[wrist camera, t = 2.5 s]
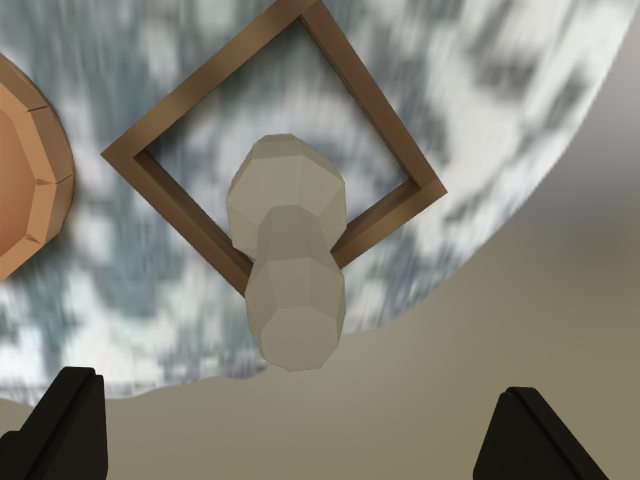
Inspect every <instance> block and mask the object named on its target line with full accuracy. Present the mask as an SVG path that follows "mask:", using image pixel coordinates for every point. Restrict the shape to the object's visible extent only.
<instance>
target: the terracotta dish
mask: <svg viewBox="0 0 640 480" xmlns="http://www.w3.org/2000/svg"><path fill="white" fill-rule="evenodd" d="M74 186H75V170H74V163H73V156H72V152H71V148H70V145H69V141H68V138H67V136H66V133H65V131H64V129H63V126H62V124H61V122H60V120H59V118H58V116H57V115H56V113H55V111H54V109H53V108H52V106H51V105H50V103H49V102H48V100H47V99H46V98H45V96H44V95H43V93H42V92H41V91H40V90H39V88H38V87H37V86H36V85H35V84H34V83H33V82H32V81H31V80H30V78H29V77H28V76H27V75H26V74H25V73H24V72H22V71H21V70H20V69H19V68H18V67H17V66H16V65H15V64H14V63H13V62H11V61H10V60H9V59H7V58H6V57H5V56H3V55H2V54H0V282H1V281H3V280H4V279H5V278H6V277H7V276H9V275H10V274H11V273H12V272H13V271H15V270H16V269H17V268H18V267H19V266H20V265H22V264H23V263H24V262H25V261H26V260H28V259H29V258H30V257H31V256H32V255H33V254H35V253H36V252H37V251H38V250H39V249H41V248H42V247H43V246H44V245H45V244H46V243H48V242H49V241H50V240H51V239H52V238H54V237H55V236H56V235H57V234H58V233H59V232H60V231H61V227H62V224H63V222H64V220H65V218H66V216H67V214H68V212H69V209H70V206H71V203H72V199H73V193H74Z"/></svg>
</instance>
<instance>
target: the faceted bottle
mask: <svg viewBox="0 0 640 480" xmlns="http://www.w3.org/2000/svg"><path fill="white" fill-rule="evenodd" d="M226 206H227V212H228V219H229V225H230V232H231V238H232V244H233V247H234V248H236V249H238V250H240V251H242V252H243V253H245V254H247V255H249V256H251V257H252V258H254V259H255V262H254V265H253V268H252V271H251V275H250V278H249V281H248V284H247V287H246V291H245V300H246V307H247V314H248V320H249V327H250V330H251V333H252V335H253V337H254V339H255V341H256V343H257V345H258V347H259V350H260V352H261V354H262V356H263V358H264V359H265V360H267V361H269V362H271V363H273V364H275V365H277V366H279V367H282V368H284V369H286V370H288V371H290V372H291V371H299V370H308V369H317V368H321V367H322V365H323V364H324V363H325V362H326V360H327V359H328V358H329V357H330V355H331V354H332V353H333V351H334V350H335V349H336V348H337V346H338V343H339V339H340V335H341V331H342V326H343V322H344V318H345V313H346V308H345V287H344V276H343V274H342V273H341V271H340V269H339V267H338V266H337V264H336V262H335V260H334V258H333V257H332V255H331V253H330V250H331V249H332V247H333V246H334V245H335V243H336V242H337V240H338V239H339V238H340V236H341V235H342V234H343V232H344V231H345V230H346V228H347V227H346V204H345V182H344V180H343V179H342V177H341V175H340V173H339V171H338V170H337V168H336V166H335V164H334V163H333V162H331V161H330V160H328V159H327V158H326V157H324V156H323V155H321V154H320V153H318V152H317V151H316V150H314V149H313V148H311V147H310V146H308V145H307V144H305V143H304V142H302V141H301V140H299V139H298V138H296V137H295V136H293V135H292V134H279V135H267V136H264V137H263V138H261V139H260V140H259V141H257V142H256V143H255V144H254V146H253V147H252V149H251V151H250V152H249V154H248V155H247V157H246V159H245V160H244V162H243V163H242V165H241V167H240V168H239V170H238V171H237V173H236V175H235V176H234V178H233V180H232V183H231V186H230V189H229V192H228V196H227V199H226Z"/></svg>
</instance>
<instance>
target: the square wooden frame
mask: <svg viewBox="0 0 640 480" xmlns="http://www.w3.org/2000/svg"><path fill="white" fill-rule="evenodd" d="M297 18H299V19H300V20H301V22H302V23H303V25H304V26H305V28H306V29H307V30H308V32H309V33H310V35H311V36H312V38H313V39H314V41H315V42H316V43H317V45H318V46H319V48H320V49H321V51H322V52H323V54H324V55H325V57H326V58H327V59H328V61H329V62H330V64H331V65H332V67H333V68H334V70H335V71H336V72H337V74H338V75H339V77H340V78H341V80H342V81H343V83H344V84H345V85H346V87H347V88H348V90H349V91H350V93H351V94H352V96H353V97H354V98H355V100H356V101H357V103H358V104H359V106H360V107H361V109H362V110H363V112H364V113H365V114H366V116H367V117H368V119H369V120H370V122H371V123H372V125H373V126H374V127H375V129H376V130H377V132H378V133H379V135H380V136H381V138H382V139H383V140H384V142H385V143H386V145H387V146H388V148H389V149H390V151H391V152H392V153H393V155H394V156H395V158H396V159H397V161H398V162H399V164H400V165H401V167H402V168H403V169H404V171H405V172H406V174H407V175H408V177H409V178H410V179H408V180H407V181H406V182H404V183H403V184H402V185H400V186H399V187H398V188H396V189H395V190H394V191H392V192H391V193H389V194H388V195H387V196H385V197H384V198H383V199H381V200H380V201H379V202H377V203H376V204H375V205H373V206H372V207H370V208H369V209H368V210H366V211H365V212H364V213H362V214H361V215H360V216H358V217H357V218H356V219H354V220H353V221H352V222H350V223H349V224H347V225H346V227H347V228H346V230H345V231H344V232H343V234H342V235H341V236H340V238H339V239H338V240H337V242H336V243H335V245H334V246H333V247H332V249H331V250H330V253H331V255H332V257H333V258H334V260H335V262H336V264H337V266H338V267H339V269H342V268H343V267H345V266H346V265H347V264H349V263H350V262H352V261H353V260H354V259H356V258H357V257H359V256H360V255H361V254H363V253H364V252H366V251H367V250H368V249H370V248H371V247H372V246H374V245H375V244H377V243H378V242H379V241H381V240H382V239H384V238H385V237H386V236H388V235H389V234H391V233H392V232H393V231H395V230H396V229H398V228H399V227H400V226H402V225H403V224H404V223H406V222H407V221H409V220H410V219H411V218H413V217H414V216H416V215H417V214H418V213H420V212H421V211H423V210H424V209H425V208H427V207H428V206H429V205H431V204H432V203H434V202H435V201H436V200H438V199H439V198H441V197H442V196H443V195H445V194H446V193H448V192H447V190H446V189H445V187H444V186H443V184H442V183H441V181H440V180H439V178H438V177H437V175H436V174H435V172H434V170H433V169H432V167H431V166H430V164H429V163H428V161H427V160H426V158H425V157H424V155H423V154H422V152H421V151H420V149H419V148H418V146H417V145H416V143H415V142H414V140H413V139H412V137H411V136H410V134H409V133H408V131H407V130H406V128H405V127H404V125H403V123H402V122H401V120H400V119H399V117H398V116H397V114H396V113H395V111H394V110H393V108H392V107H391V105H390V104H389V102H388V101H387V99H386V98H385V96H384V95H383V93H382V92H381V90H380V89H379V87H378V86H377V84H376V83H375V81H374V79H373V78H372V76H371V75H370V73H369V72H368V70H367V69H366V67H365V66H364V64H363V63H362V61H361V60H360V58H359V57H358V55H357V54H356V52H355V51H354V49H353V48H352V46H351V45H350V43H349V42H348V40H347V39H346V37H345V35H344V34H343V32H342V31H341V29H340V28H339V26H338V25H337V23H336V22H335V20H334V19H333V17H332V16H331V14H330V13H329V11H328V10H327V8H326V7H325V5H324V4H323V2H322V1H321V0H277V1H276V2H275V3H274V4H273V5H271V6H270V7H269V8H268V9H267V10H266V11H265V12H263V13H262V14H261V15H260V16H259V17H258V18H257V19H255V20H254V21H253V22H252V23H251V24H250V25H248V26H247V27H246V28H245V29H244V30H243V31H242V32H240V33H239V34H238V35H237V36H236V37H235V38H233V39H232V40H231V41H230V42H229V43H228V44H227V45H225V46H224V47H223V48H222V49H221V50H220V51H219V52H217V53H216V54H215V55H214V56H213V57H212V58H210V59H209V60H208V61H207V62H206V63H205V64H204V65H202V66H201V67H200V68H199V69H198V70H197V71H196V72H194V73H193V74H192V75H191V76H190V77H189V78H187V79H186V80H185V81H184V82H183V83H182V84H181V85H179V86H178V87H177V88H176V89H175V90H174V91H172V92H171V93H170V94H169V95H168V96H167V97H166V98H164V99H163V100H162V101H161V102H160V103H159V104H158V105H156V106H155V107H154V108H153V109H152V110H151V111H149V112H148V113H147V114H146V115H145V116H144V117H143V118H141V119H140V120H139V121H138V122H137V123H136V124H135V125H133V126H132V127H131V128H130V129H129V130H128V131H126V132H125V133H124V134H123V135H122V136H121V137H120V138H118V139H117V140H116V141H115V142H114V143H113V144H111V145H110V146H109V147H108V148H107V149H106V150H105V151H103V152H102V153H101V154H100V155H101V156H102V157H103V158H104V159H105V160H106V161H107V162H108V163H109V164H110V165H111V166H112V167H113V168H114V169H115V170H116V171H117V172H118V173H119V174H120V175H121V176H122V177H123V178H124V179H125V180H126V181H127V182H128V183H129V184H130V185H131V186H132V187H133V188H134V189H135V190H136V191H137V192H138V193H139V194H140V195H141V196H142V197H143V198H144V199H145V200H146V201H147V202H148V203H149V204H150V205H151V206H152V207H153V208H154V209H155V210H156V211H157V212H158V213H160V214H161V215H162V216H163V217H164V218H165V219H166V220H167V221H168V222H169V223H170V224H171V225H172V226H173V227H174V228H175V229H176V230H177V231H178V232H179V233H180V234H181V235H182V236H183V237H184V238H185V239H186V240H187V241H188V242H189V243H190V244H191V245H192V246H193V247H194V248H195V249H196V250H197V251H198V252H199V253H200V254H201V255H202V256H203V257H204V258H205V259H206V260H207V261H208V262H209V263H210V264H211V265H212V266H213V267H214V268H215V269H216V270H217V271H218V272H219V273H220V274H221V275H222V276H223V277H224V278H225V279H226V280H227V281H228V282H229V283H230V284H231V285H232V286H233V287H234V288H235V289H236V290H237V291H238V292H239V293H240V294H241V295H242V296H243V297H244V298H245V291H246V287H247V284H248V281H249V278H250V275H251V271H252V268H253V265H254V263H253V262H252V261H251V260H250V259H249V258H248V257H247V256H246V255H245V254H244V253H243V252H242V251H240V250H238V249H236V248H234V247H233V244H232V240H231V239H230V238H229V237H228V236H227V235H226V234H225V233H224V232H223V231H222V230H221V229H220V228H219V227H218V226H217V224H216V223H215V222H214V221H213V220H212V219H211V218H210V217H209V216H208V215H207V214H206V213H205V212H204V211H203V210H202V209H201V208H200V207H199V205H198V204H197V203H196V202H195V201H194V200H193V199H192V198H191V197H190V196H189V195H188V194H187V193H186V192H185V191H184V190H183V189H182V188H181V187H180V185H179V184H178V183H177V182H176V181H175V180H174V179H173V178H172V177H171V176H170V175H169V174H168V173H167V172H166V171H165V170H164V169H163V168H162V167H161V165H160V164H159V163H158V162H157V161H156V160H155V159H154V158H153V157H152V156H151V155H150V154H149V153H148V152H147V151H146V150H145V148H146V147H147V146H148V145H149V144H151V143H152V142H153V141H154V140H155V139H157V138H158V137H159V136H160V135H161V134H162V133H164V132H165V131H166V130H167V129H168V128H169V127H171V126H172V125H173V124H174V123H175V122H176V121H178V120H179V119H180V118H181V117H182V116H184V115H185V114H186V113H187V112H188V111H189V110H191V109H192V108H193V107H194V106H195V105H196V104H198V103H199V102H200V101H201V100H202V99H203V98H205V97H206V96H207V95H208V94H209V93H210V92H212V91H213V90H214V89H215V88H216V87H218V86H219V85H220V84H221V83H222V82H223V81H225V80H226V79H227V78H228V77H229V76H230V75H232V74H233V73H234V72H235V71H236V70H237V69H239V68H240V67H241V66H242V65H243V64H245V63H246V62H247V61H248V60H249V59H250V58H252V57H253V56H254V55H255V54H256V53H257V52H259V51H260V50H261V49H262V48H263V47H264V46H266V45H267V44H268V43H269V42H270V41H272V40H273V39H274V38H275V37H276V36H277V35H279V34H280V33H281V32H282V31H283V30H284V29H286V28H287V27H288V26H289V25H290V24H291V23H293V22H294V21H295V20H296V19H297Z"/></svg>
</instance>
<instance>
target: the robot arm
mask: <svg viewBox="0 0 640 480" xmlns="http://www.w3.org/2000/svg"><path fill="white" fill-rule="evenodd" d="M107 471H108V453H107V433H106V413H105V394H104V378H103V376H102V375H96V373H95V370H94V368H90V367H68V366H66V367H64V368H63V369H62V370H61V371H60V372H59V374H58V375H57V377H56V378H55V380H54V381H53V383H52V384H51V385H50V387H49V388H48V390H47V391H46V393H45V394H44V396H43V397H42V398H41V400H40V401H39V403H38V404H37V406H36V407H35V409H34V410H33V412H32V413H31V415H30V416H29V417H28V419H27V420H26V422H25V423H24V425H23V426H22V428H21V429H20V431H8V432H7V433H5V434H4V435H3V436H2V437H1V438H0V480H106V477H107ZM473 480H609V479H608V478H607V476H606V475H605V474H604V473H603V472H602V470H601V469H600V468H599V467H598V465H597V464H596V463H595V462H594V460H593V459H592V458H591V457H590V455H589V454H588V453H587V452H586V450H585V449H584V448H583V447H582V445H581V444H580V443H579V442H578V441H577V439H576V438H575V437H574V436H573V434H572V433H571V432H570V430H569V429H568V428H567V427H566V426H565V424H564V423H563V422H562V421H561V419H560V418H559V417H558V416H557V414H556V413H555V412H554V411H553V409H552V408H551V407H550V406H549V404H548V403H547V402H546V401H545V400H544V398H543V397H542V396H541V395H540V393H539V392H538V391H537V390H536V389H534V388H532V387H509V388H508V389H507V390H506V391H505V392H504V393H502V394H501V395H500V397H499V399H498V402H497V405H496V408H495V410H494V413H493V416H492V419H491V422H490V425H489V428H488V431H487V434H486V436H485V439H484V442H483V445H482V448H481V450H480V453H479V456H478V459H477V462H476V464H475V467H474V471H473Z"/></svg>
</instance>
